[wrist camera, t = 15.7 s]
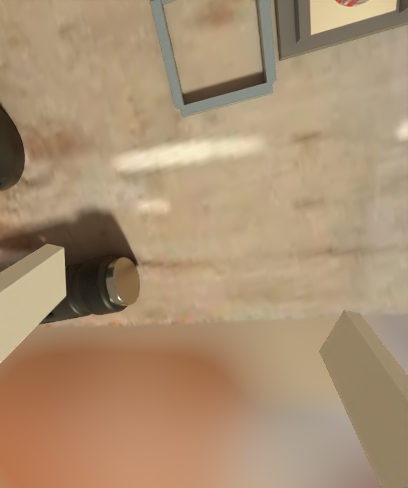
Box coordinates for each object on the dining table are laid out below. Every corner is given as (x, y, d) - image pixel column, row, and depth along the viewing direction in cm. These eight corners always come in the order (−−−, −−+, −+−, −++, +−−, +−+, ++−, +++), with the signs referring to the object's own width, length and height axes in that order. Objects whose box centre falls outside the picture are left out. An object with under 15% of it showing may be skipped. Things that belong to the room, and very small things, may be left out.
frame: (179, 118, 34) (177, 117, 32) (150, -5, 28) (146, -12, 27) (275, 92, 31) (277, 90, 30) (263, -45, 26) (265, -55, 25)
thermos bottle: (3, 271, 47) (-51, 304, 38) (129, 241, 43) (103, 271, 33) (29, 308, 51) (-14, 346, 42) (148, 284, 46) (129, 322, 37)
